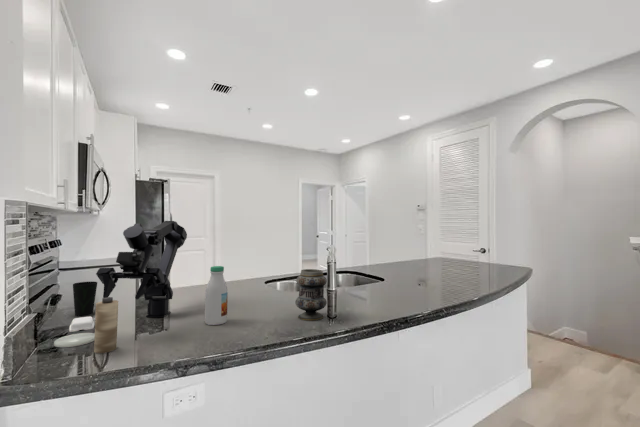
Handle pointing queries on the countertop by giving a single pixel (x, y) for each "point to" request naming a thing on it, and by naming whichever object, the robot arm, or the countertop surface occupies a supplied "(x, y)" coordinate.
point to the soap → (81, 324)
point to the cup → (84, 297)
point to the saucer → (74, 340)
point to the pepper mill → (106, 325)
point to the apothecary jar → (311, 294)
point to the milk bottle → (216, 297)
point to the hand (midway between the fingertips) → (120, 298)
